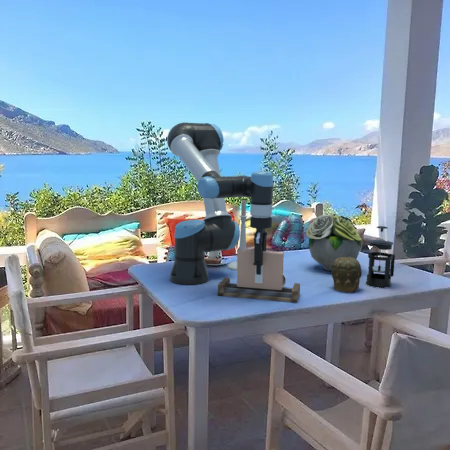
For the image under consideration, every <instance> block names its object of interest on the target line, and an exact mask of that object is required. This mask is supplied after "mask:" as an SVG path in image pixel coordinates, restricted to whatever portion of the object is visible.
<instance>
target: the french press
mask: <svg viewBox="0 0 450 450" xmlns="http://www.w3.org/2000/svg"><path fill="white" fill-rule="evenodd" d="M376 229H380V232H381V234H380V239H375V240H374V239H372V240H369V241H368V243H369V247H374V246H375V247H377V248H378V249H379V252H377V251H373V252H369V253H368V254H367V255H368V256H367V259H368V258H369V259H368V268H367V269H368V271H367V273H368V274H366V281H365V284H366V285H367V286H368V285H369V287H371V286H373V288H376V287H379V289H385V288H384V287H388V288H391V286H392V284H391V283H392V282H391V280H392V277H394V274H395V262H396V259H395V258H396V254H394V253H389V252H388V253H387V252H382V250H383V251H389V250H392V249H393V245H394V242H393V241H389V240H383V233H384V229H389V228H388V226H383V225H382V226H381V225H380V226H379V225H378V226H376ZM375 261H378V262H379V263H378V265H375ZM381 261H384V262H385V263H384V265H385V266H381ZM380 287H381V288H380Z"/></svg>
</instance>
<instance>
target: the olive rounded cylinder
mask: <svg viewBox="0 0 450 450" xmlns="http://www.w3.org/2000/svg"><path fill="white" fill-rule="evenodd" d="M361 267H362V266H361V264H360V261H359V260H358V259H355V258H351V257H347V258H346V257H343V258H342V257H340V258H337V259H336V260H335V261H334V262H333V264H332V269H331V271H330V273H331V278H332V280H333V288H334V291H339V292H341V293H342V292H343V293H355V292H356V291H358V289H359V287H360V280H361V277H362V268H361Z"/></svg>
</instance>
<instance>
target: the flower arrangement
mask: <svg viewBox="0 0 450 450" xmlns="http://www.w3.org/2000/svg"><path fill="white" fill-rule="evenodd" d="M305 231H306V232H305V235H306V237H308V251H309V252H310V256H311V258H312V259H313V260H314V261H315V262H317V263H318V264H320V265H321V266H322V269H323V270H325V271H328V272H331V269H332V264H333V262H334V261H335V260H336V259H337V258H340V257H342V258H343V257H346V258H347V257H351V258H355V259H356V260H358V259H357V258H358V256H359V254H360V248H362V243H361V242H362V241H361V240H363V239H362V237H361V235H360V234H359V233H358V231H357V230H356V227H354V225H352V220H351V218H348V217H347V216H343V215H338V214H335V213H333V214H332V213H330V214H329V213H327V214H322V215H317V216H316V217H315V218H314V220H313V221H312V222H311V223H309V224H308V225H307V229H306V230H305Z"/></svg>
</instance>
